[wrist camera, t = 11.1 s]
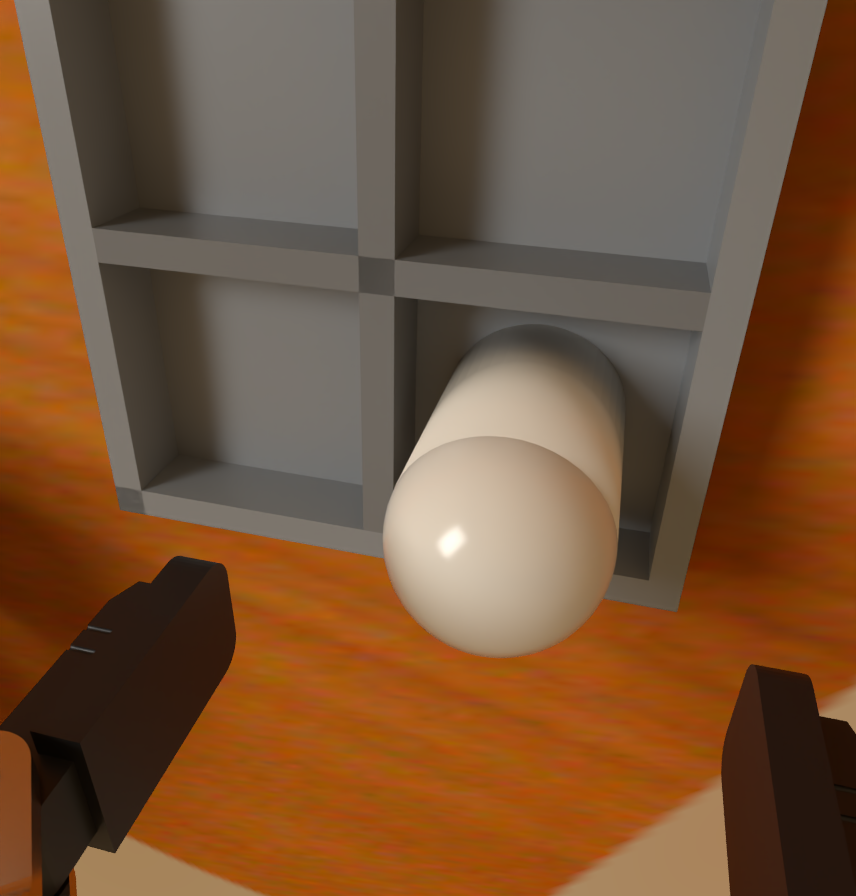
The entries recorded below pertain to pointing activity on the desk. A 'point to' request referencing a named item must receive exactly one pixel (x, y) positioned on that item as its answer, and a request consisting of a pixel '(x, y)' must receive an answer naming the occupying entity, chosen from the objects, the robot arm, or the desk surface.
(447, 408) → the cream capsule pill
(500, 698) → the desk surface
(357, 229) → the compartment tray
